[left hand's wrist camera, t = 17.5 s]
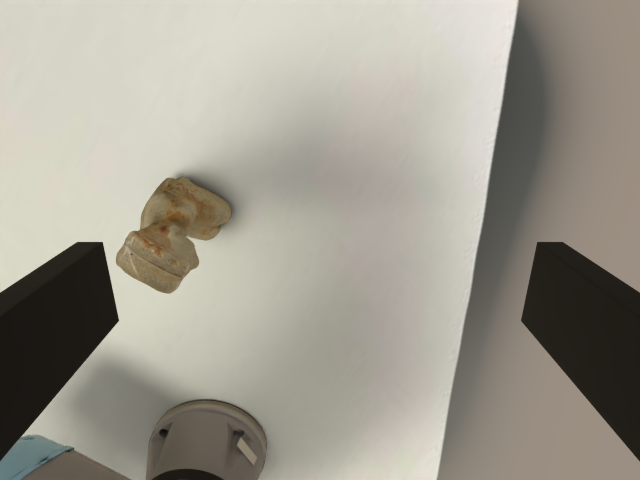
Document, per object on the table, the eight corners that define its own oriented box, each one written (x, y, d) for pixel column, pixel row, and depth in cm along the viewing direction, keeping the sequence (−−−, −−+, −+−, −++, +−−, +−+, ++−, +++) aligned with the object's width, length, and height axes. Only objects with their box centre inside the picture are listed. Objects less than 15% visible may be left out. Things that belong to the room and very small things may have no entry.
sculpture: (210, 242, 45) (160, 315, 31) (153, 201, 43) (73, 259, 29) (241, 203, 43) (204, 262, 29) (184, 159, 41) (115, 198, 27)
